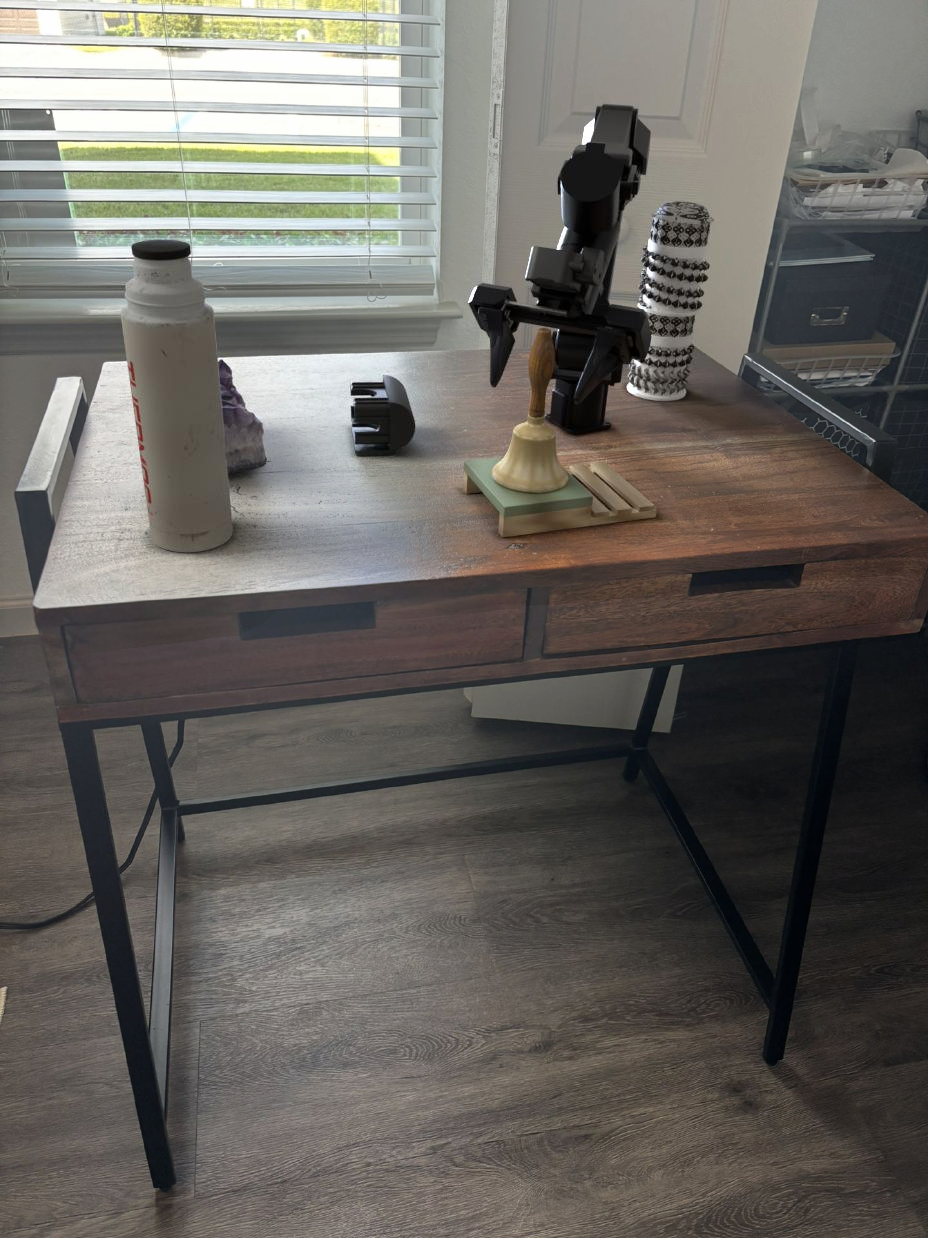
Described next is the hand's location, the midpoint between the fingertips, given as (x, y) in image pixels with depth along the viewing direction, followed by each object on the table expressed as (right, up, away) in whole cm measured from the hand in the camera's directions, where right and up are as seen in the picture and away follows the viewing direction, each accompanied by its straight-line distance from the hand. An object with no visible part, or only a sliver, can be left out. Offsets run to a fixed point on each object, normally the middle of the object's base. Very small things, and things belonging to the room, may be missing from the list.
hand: (533, 393), depth 102 cm
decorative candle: (+20, +10, +41) cm, 47 cm away
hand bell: (0, -8, +5) cm, 10 cm away
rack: (+4, -10, +8) cm, 14 cm away
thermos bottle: (-34, -15, -2) cm, 37 cm away
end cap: (-17, -1, +21) cm, 27 cm away
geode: (-37, -4, +16) cm, 40 cm away
